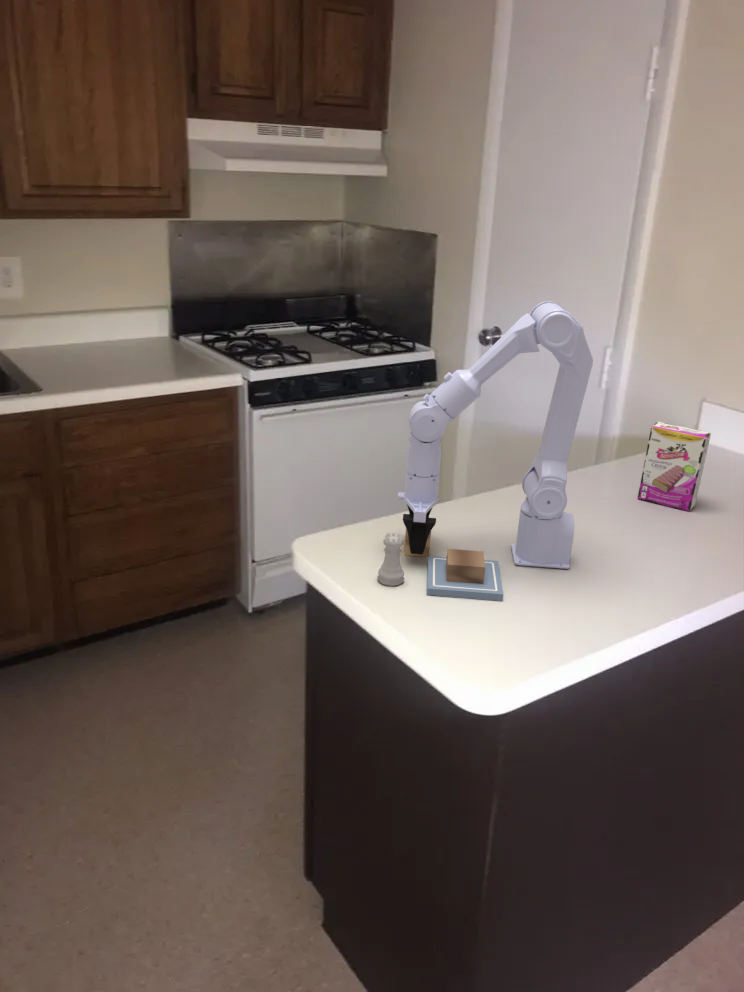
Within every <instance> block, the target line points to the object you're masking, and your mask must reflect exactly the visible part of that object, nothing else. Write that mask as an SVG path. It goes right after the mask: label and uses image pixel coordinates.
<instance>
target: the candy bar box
mask: <svg viewBox="0 0 744 992" xmlns="http://www.w3.org/2000/svg"><path fill="white" fill-rule="evenodd" d="M711 435H712V432H710V431H705V430H700V429H695V428H691V427H690V428H689V427H686V426H681V425H676V424H671V423H666V422H663V421H662V422H661V421H656V422H655V423H653V424H652V426H651V427H650V432H649V437H648V441H647V446H646V447H647V448H646V454H645V457H644V463H643V468H642V473H641V478H640V484H639V488H638V494H637V500H641V499H642V500H641V501H645V500H646V502H649V501H650V502H649V503H653V502H654V503H653V504H656V503H658V505H661V504H662V506H665V505H666V507H670V508H674V509H677V508H678V509H677V510H681V509H682V511H685V510H686V511H685V512H689V511H690V510H691V511H692V509H693V508H694V507H695V506H696V503H697V499H698V493H699V488H700V485H701V480H702V475H703V472H704V471H703V470H704V468H705V461H706V458H707V457H706V456H707V453H708V449H709V444H710V440H711ZM691 511H690V512H691Z"/></svg>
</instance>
